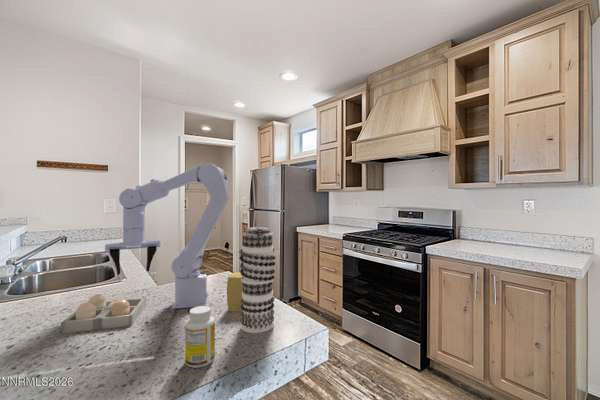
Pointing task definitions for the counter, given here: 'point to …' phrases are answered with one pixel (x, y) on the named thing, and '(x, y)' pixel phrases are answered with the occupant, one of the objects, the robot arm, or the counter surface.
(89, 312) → the pale egg
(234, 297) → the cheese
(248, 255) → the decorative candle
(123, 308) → the egg
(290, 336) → the counter surface
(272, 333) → the counter surface
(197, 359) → the supplement bottle
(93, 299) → the pale egg
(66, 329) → the carton
